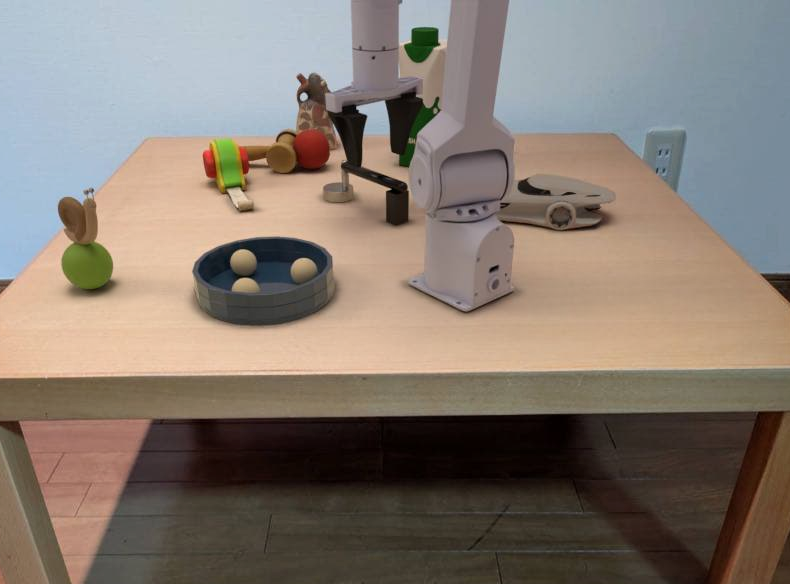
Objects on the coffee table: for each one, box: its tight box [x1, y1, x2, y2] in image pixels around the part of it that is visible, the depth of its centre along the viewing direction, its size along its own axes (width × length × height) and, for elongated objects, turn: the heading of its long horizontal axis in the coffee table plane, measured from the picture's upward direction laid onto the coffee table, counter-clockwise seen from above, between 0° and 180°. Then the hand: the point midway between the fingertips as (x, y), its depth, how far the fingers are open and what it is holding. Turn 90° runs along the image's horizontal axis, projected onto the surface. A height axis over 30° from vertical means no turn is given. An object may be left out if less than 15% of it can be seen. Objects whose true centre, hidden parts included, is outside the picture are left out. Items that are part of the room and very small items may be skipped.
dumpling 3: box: [291, 258, 318, 285], centre depth 82 cm, size 3×3×3 cm
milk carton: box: [398, 26, 447, 168], centre depth 114 cm, size 9×9×20 cm
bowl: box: [191, 235, 335, 326], centre depth 81 cm, size 15×15×4 cm
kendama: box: [238, 128, 331, 174], centre depth 117 cm, size 8×6×18 cm
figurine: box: [295, 72, 338, 151], centre depth 125 cm, size 7×7×12 cm
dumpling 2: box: [232, 278, 260, 293], centre depth 78 cm, size 3×3×3 cm
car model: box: [494, 173, 617, 231], centre depth 100 cm, size 11×24×5 cm, turn 78°
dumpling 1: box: [230, 249, 257, 276], centre depth 84 cm, size 3×3×3 cm
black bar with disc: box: [322, 159, 410, 227], centre depth 102 cm, size 17×4×6 cm, turn 40°
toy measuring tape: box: [202, 137, 255, 212], centre depth 108 cm, size 6×19×7 cm, turn 20°
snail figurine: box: [57, 187, 114, 290], centre depth 80 cm, size 5×6×12 cm
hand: (376, 159), depth 97 cm, fingers open, 7 cm apart
